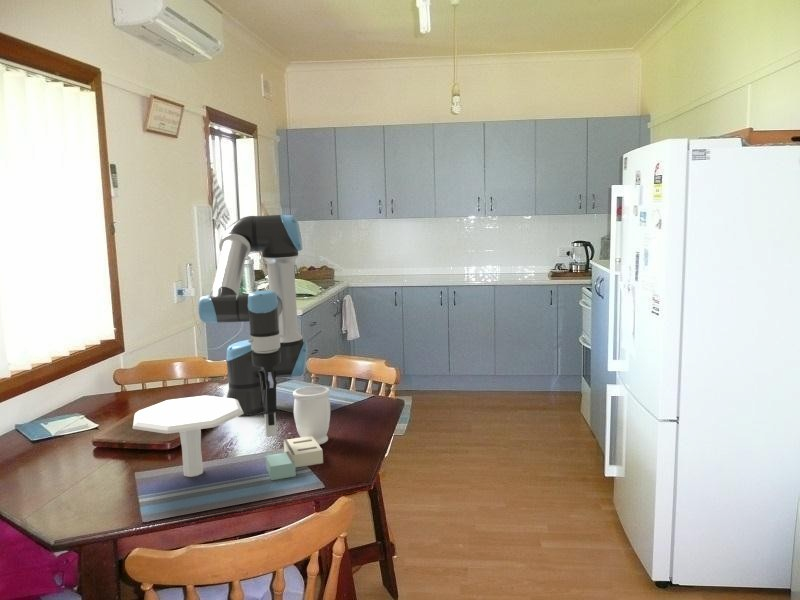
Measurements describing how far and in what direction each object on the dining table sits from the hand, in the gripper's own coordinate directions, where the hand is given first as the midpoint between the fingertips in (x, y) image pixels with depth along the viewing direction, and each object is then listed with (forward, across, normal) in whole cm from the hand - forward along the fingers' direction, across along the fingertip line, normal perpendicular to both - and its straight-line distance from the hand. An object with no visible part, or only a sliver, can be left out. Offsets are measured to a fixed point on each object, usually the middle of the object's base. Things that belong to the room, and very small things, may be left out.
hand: (271, 435), depth 171 cm
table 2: (+6, +3, -21) cm, 22 cm away
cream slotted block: (+6, +4, +7) cm, 10 cm away
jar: (+7, -7, +13) cm, 16 cm away
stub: (+6, +12, 0) cm, 13 cm away
